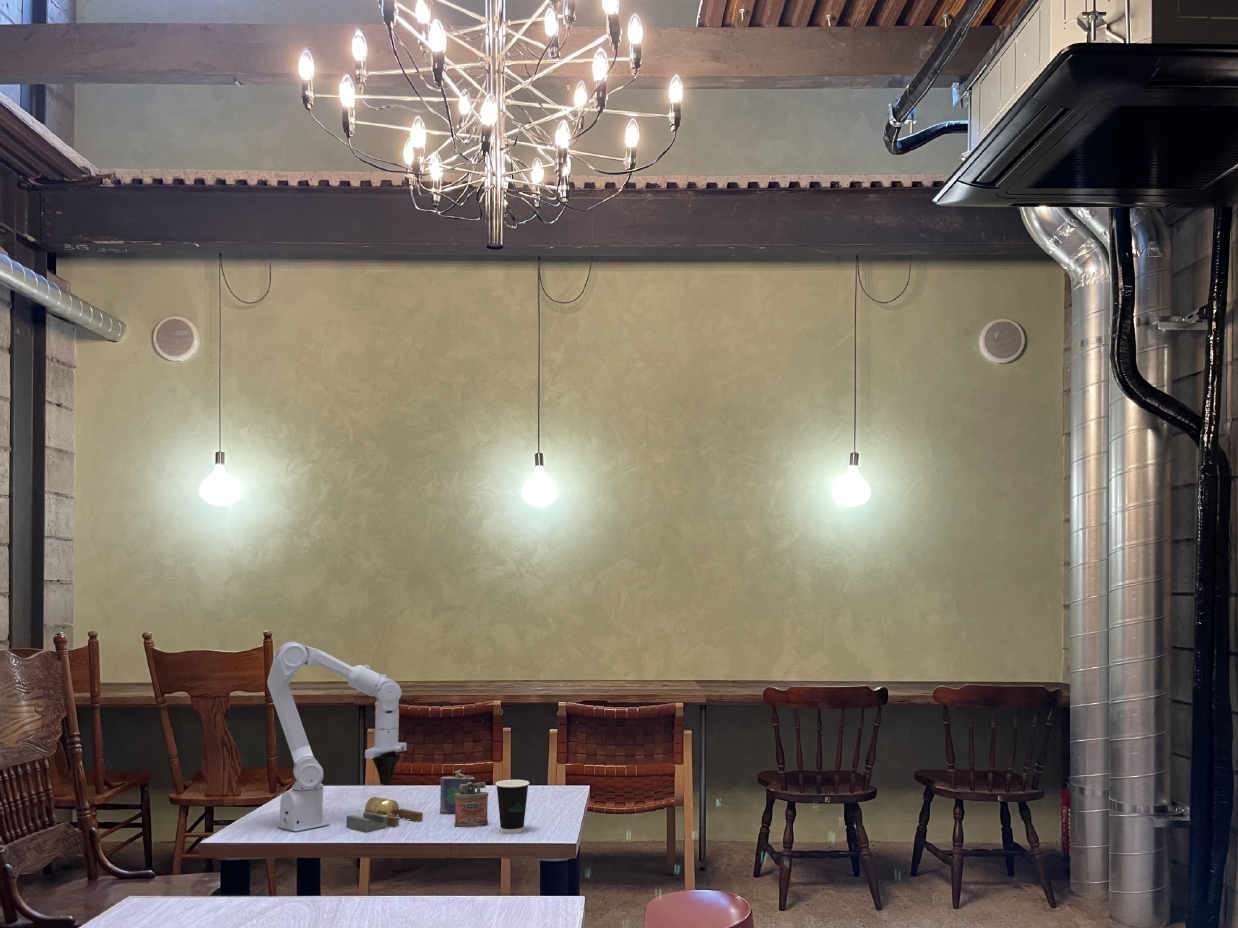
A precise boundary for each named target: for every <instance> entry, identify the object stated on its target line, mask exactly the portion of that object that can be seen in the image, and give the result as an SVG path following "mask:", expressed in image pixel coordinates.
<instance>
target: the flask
mask: <svg viewBox="0 0 1238 928" xmlns="http://www.w3.org/2000/svg"><path fill="white" fill-rule="evenodd" d="M461 771H462V769H458V770H456V771H454V773H455V776H442V777H440V796H439V797H440V801H439V803H440V804H439V813H441V814H442V815H452V814H455V800H456V798H455V794H457V793H461V792H460V785H462V784H467V783H468V782H472V784H476V778H475V777H474V776H470V775H464V774H463V773H461ZM465 790H466V789H464V793H465ZM474 790H475V791H476V789H474Z"/></svg>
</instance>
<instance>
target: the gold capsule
mask: <svg viewBox="0 0 1238 928" xmlns="http://www.w3.org/2000/svg"><path fill="white" fill-rule="evenodd" d="M399 809H400V807H399V803H398V802H397V801H396V800H393V799H388V798H382V797H380V796H379V797H378V796H372V797H370V798H369V799H368V800H367V801H366V803H365V807H364V812H371V813H376V814H378V813H379V814H383V815H388V816H392V817H397V818H398V812H399Z"/></svg>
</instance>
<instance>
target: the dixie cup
mask: <svg viewBox="0 0 1238 928" xmlns="http://www.w3.org/2000/svg"><path fill="white" fill-rule="evenodd" d="M529 785H530V782H529V781H528V780H524V779H505V780H498V781H497V782H495V786H496V793H497V802H498V812H499V814H498V815H499V823H500V825H499V826H500V828H501V832H502V833H503V834H511V835H512V834H520V833H522V832H523V830H524V829H523V828H524V826H525V819H526V808H527V800H528V791H529V790H528V788H529Z"/></svg>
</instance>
